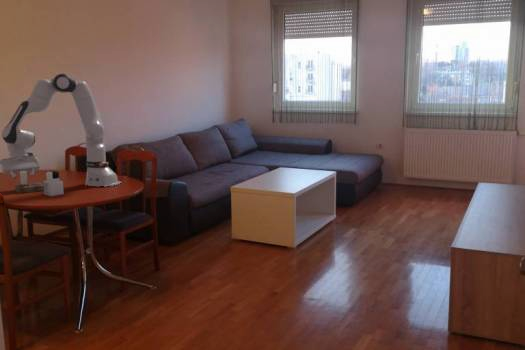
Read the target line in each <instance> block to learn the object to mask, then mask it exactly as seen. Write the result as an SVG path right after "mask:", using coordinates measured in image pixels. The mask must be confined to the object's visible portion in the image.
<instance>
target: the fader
mask: <svg viewBox="0 0 525 350" xmlns="http://www.w3.org/2000/svg"><path fill="white" fill-rule="evenodd" d="M27 172H28V171H21V172H19V175H20V176H19V180H20V183H19V185H20V186H29V184H30V183H28V173H27Z"/></svg>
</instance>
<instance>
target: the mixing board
mask: <svg viewBox="0 0 525 350" xmlns="http://www.w3.org/2000/svg"><path fill="white" fill-rule="evenodd" d="M28 184H29V186H20V184H14V190H15V192H17V193H18V194H28V193H35V192H44V184H43V181H42V182H32V183H28Z"/></svg>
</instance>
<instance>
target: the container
mask: <svg viewBox="0 0 525 350" xmlns="http://www.w3.org/2000/svg"><path fill="white" fill-rule="evenodd" d="M42 182H43V184H44V191H43V195H45V196H48V197H49V196H50V197H56V196H60V195H64V181H63V180H60V172H59V171H57V170H51V171H47V172H46V180H43V181H42Z"/></svg>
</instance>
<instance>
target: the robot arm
mask: <svg viewBox="0 0 525 350" xmlns="http://www.w3.org/2000/svg"><path fill="white" fill-rule="evenodd" d="M57 92H59V93H64V94H65V93H70V95H72V98H73V101H74V104H75V106H76V109H77V112H78V115H79V117H80V120H81V122H82V126H83V128H84V132H85V144H86V163H85V164H86V167H87V168H86V178H85V180H86V181H85V183H84V184H85V186H87V185H88V187H89V186H90V187H100V186H104V187H103V188H108V187H107V186H110V187H114V185H115V186H119V185H121V184H122V181H118V175H117V173H116V172H114V171H113V170H112V169H111V168H110V167H109V163H110V162H109V161H107V158H106V139H105V127H104V123H103V121H102V118H101V115H100V112H99V110H98V107H97V104H96V101H95V99H94V95H93V93H92V90H91V89H90V87H89V85H88V83H87V82H86V81H84V80H74V79H73V78H72V77H71V76H70V75H68V74H66V73H58V74H56V75H55V76H54V77H53V78H52V79H47V78H40V79H39V80H37V82H36V83H35V86H34V87H33V89H32V92H31V93H30V96H29V97H28V98H27V100H24V101H22V102H21V103H20V104H19V106H18V107H17V109H16V111H15V112H14V114H13V115H12V117H11V119H10V121H9V122H8V124H7V125H6V126H5V127H4V128H3V130H2V133H1V137H2V139H3V141H4V142H5V143H6V145H7V146H6V147H7V150H8V152H9V158H2V159H1V160H0V165H1V171H2V173H3V174H10V175H11V176H12V178H13V179H17V175H16V173H20V172H21V171H26V172H30V177H31V178H32V177H34V176H35V171H39V170H40V169H41V164H40V161H39V159H38V158H37V157H36V154H35V153H34V152H30V151H26V150H28V149H30V148H31V147H32V146H34V145H35V143H36V136H35V135H36V134H35V133H34V132H33V131H31V130H27V129H23V128H19V126H20V125H21V123H22V121H23V120H24V118H25V117H26V116H27V115H29V114H32V113H42V112H43V111H46V110H47V109H48V107H49V106H50V103H51V100H52V99H53V95H54V94H55V93H57ZM120 183H121V184H120ZM118 184H119V185H118Z"/></svg>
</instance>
